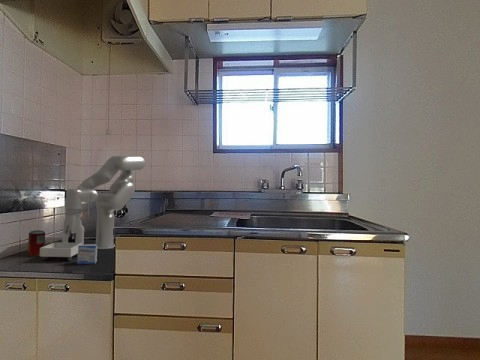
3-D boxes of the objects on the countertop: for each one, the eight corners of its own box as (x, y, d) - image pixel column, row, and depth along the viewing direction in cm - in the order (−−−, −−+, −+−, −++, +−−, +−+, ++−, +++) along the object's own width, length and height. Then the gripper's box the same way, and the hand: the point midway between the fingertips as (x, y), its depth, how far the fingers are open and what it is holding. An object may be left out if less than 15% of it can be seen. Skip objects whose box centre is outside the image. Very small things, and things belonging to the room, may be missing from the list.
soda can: (47, 254, 165) (48, 230, 165) (35, 257, 158) (36, 232, 158) (36, 252, 167) (37, 229, 167) (24, 255, 160) (25, 231, 160)
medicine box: (77, 264, 148) (77, 245, 148) (78, 262, 153) (79, 244, 153) (95, 263, 150) (96, 245, 151) (96, 261, 155) (97, 243, 155)
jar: (60, 247, 181) (61, 221, 181) (62, 244, 190) (63, 219, 190) (83, 246, 186) (84, 221, 186) (84, 243, 195) (85, 219, 195)
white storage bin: (53, 254, 164) (54, 242, 164) (81, 254, 166) (82, 243, 166) (39, 261, 150) (40, 248, 150) (70, 261, 152) (71, 248, 152)
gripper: (71, 210, 177) (70, 243, 176) (59, 212, 162) (57, 249, 162) (85, 210, 177) (84, 243, 177) (74, 213, 163) (73, 249, 162)
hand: (71, 246), depth 169 cm, fingers closed
